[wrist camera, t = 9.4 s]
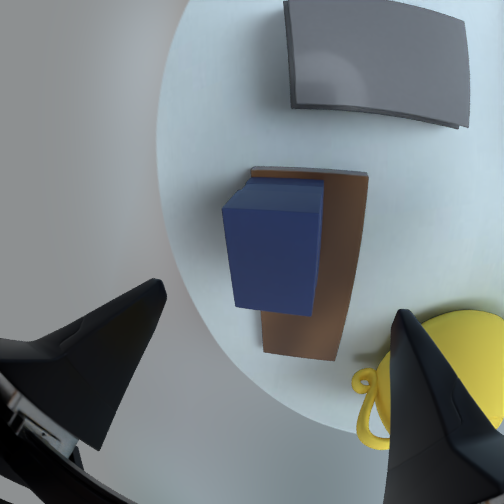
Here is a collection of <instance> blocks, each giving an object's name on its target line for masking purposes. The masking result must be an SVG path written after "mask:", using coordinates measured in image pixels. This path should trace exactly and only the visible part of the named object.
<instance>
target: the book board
mask: <svg viewBox="0 0 504 504" xmlns="http://www.w3.org/2000/svg"><path fill="white" fill-rule="evenodd" d="M251 177H271V178H297V179H315V180H324V196H323V217H322V233H321V248H320V260H319V270H318V278H317V286H316V289H315V297H314V304H313V311H312V316H311V317H309V316H300V315H291V314H283V313H275V312H268V311H261V322H262V337H263V352H265V353H272V354H278V355H285V356H293V357H300V358H309V359H317V360H327V361H335V358H336V355H337V351H338V348H339V344H340V340H341V336H342V332H343V328H344V324H345V320H346V316H347V312H348V307H349V303H350V298H351V294H352V289H353V284H354V279H355V274H356V268H357V263H358V257H359V251H360V245H361V238H362V231H363V224H364V217H365V209H366V200H367V190H368V180H369V177H368V174H367V173H366V172H356V171H345V170H332V169H317V168H298V167H260V166H255V167H253V168H252V169H251Z"/></svg>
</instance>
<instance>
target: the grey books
mask: <svg viewBox="0 0 504 504" xmlns="http://www.w3.org/2000/svg"><path fill="white" fill-rule="evenodd" d="M283 5H284V15H285V26H286V37H287V49H288V63H289V78H290V95H291V108H292V109H326V110H342V111H354V112H364V113H373V114H381V115H389V116H395V117H402V118H408V119H413V120H419V121H424V122H428V123H433V124H438V125H442V126H446V127H450V128H454V129H459V125H460V126H463V127H467V128H469V115H470V71H469V56H468V45H467V37H466V30H465V23H464V21H462V20H459V19H456V18H454V17H451V16H448V15H445V14H442V13H439V12H435V11H432V10H428V9H425V8H421V7H417V6H413V5H409V4H405V3H400V2H395V1H390V0H288V1H283Z"/></svg>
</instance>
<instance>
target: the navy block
mask: <svg viewBox="0 0 504 504" xmlns="http://www.w3.org/2000/svg"><path fill="white" fill-rule="evenodd" d="M321 207H322V194H318V193H302V192H283V191H258V190H238V191H237V192H236V193H235V194H234V195H233V196H232V197H231V198H230V200H229V201H228V202H227V203H226V204H225V205H224V206H223V208H222V215H223V223H224V230H225V238H226V245H227V252H228V260H229V267H230V274H231V281H232V287H233V294H234V301H235V306H236V307H239V308H246V309H253V310H260V311H268V312H275V313H283V314H291V315H300V316H309V317H311V316H312V311H313V304H314V297H315V289H316V279H317V268H318V256H319V242H320V226H321Z"/></svg>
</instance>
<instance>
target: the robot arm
mask: <svg viewBox="0 0 504 504" xmlns="http://www.w3.org/2000/svg"><path fill="white" fill-rule="evenodd" d="M166 300H167V294H166V290H165V287H164V284H163V282H162V280H160V279H155V278H152V279H150V280H148V281H146V282H144V283H143V284H141V285H139V286H137V287H135V288H133V289H132V290H130V291H128V292H126V293H124V294H122V295H121V296H119V297H117V298H115V299H113V300H112V301H110V302H108V303H106V304H104V305H103V306H101V307H99V308H97V309H95V310H94V311H92V312H90V313H88V314H87V315H85V316H84V317H81V318H79V319H78V320H76V321H74V322H72V323H71V324H69V325H67V326H65V327H63V328H61V329H59V330H57V331H54V332H52V333H50V334H48V335H46V336H44V337H42V338H40V339H38V340H35V341H31V342H23V341H16V340H9V339H3V338H0V475H2V476H4V477H5V478H7V479H10V480H12V481H13V482H16V483H18V484H20V485H22V486H25V487H27V488H29V489H30V490H31V491H33V493H35V494H36V496H38V497H39V499H41V500H42V501H43V502H44V503H45V504H137V503H135V502H133V501H132V500H130V499H128V498H126V497H124V496H123V495H121V494H119V493H117V492H116V491H114V490H112V489H111V488H109V487H107V486H106V485H104V484H102V483H101V482H99V481H98V480H96V479H95V478H93V477H92V476H90V475H89V474H88V473H86V472H85V471H84V468H83V465H82V461H81V457H80V453H79V449H78V447H77V446H76V444H77V442H78V441H79V439H80V440H81V441H83V442H84V443H86V444H87V445H89V446H91V447H92V448H94V449H95V450H97V451H100V449H101V447H102V444H103V442H104V440H105V437H106V435H107V432H108V430H109V427H110V425H111V423H112V420H113V418H114V416H115V414H116V411H117V409H118V407H119V405H120V402H121V400H122V398H123V396H124V393H125V391H126V389H127V387H128V385H129V382H130V380H131V378H132V376H133V374H134V372H135V370H136V368H137V366H138V364H139V362H140V360H141V358H142V355H143V353H144V351H145V349H146V347H147V345H148V343H149V341H150V339H151V337H152V335H153V333H154V331H155V329H156V326H157V323H158V321H159V318H160V316H161V313H162V311H163V308H164V305H165V303H166ZM0 504H12V503H10V502H7V501H5V500H2V499H0ZM383 504H504V435H502V434H501V433H500V432H498V431H497V430H496V429H495V427H494V426H493V425H492V423H491V422H490V421H489V419H488V418H487V417H486V415H485V414H484V413H483V411H482V410H481V409H480V407H479V406H478V405H477V403H476V402H475V400H474V399H473V398H472V396H471V395H470V394H469V392H468V391H467V389H466V388H465V386H464V385H463V383H462V382H461V380H460V379H459V378H458V376H457V374H456V373H455V371H454V370H453V368H452V367H451V365H450V364H449V362H448V361H447V359H446V358H445V357H444V355H443V354H442V352H441V351H440V350H439V348H438V347H437V345H436V344H435V343H434V341H433V340H432V339H431V337H430V336H429V334H428V333H427V332H426V330H425V329H424V328H423V327H422V325H421V324H420V323H419V321H418V320H417V319H416V317H415V316H414V315H413V314H412V312H411V311H410V310H408V309H399V310H398V311H397V313H396V316H395V318H394V321H393V323H392V326H391V345H390V444H389V459H388V472H387V479H386V487H385V494H384V501H383Z"/></svg>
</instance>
